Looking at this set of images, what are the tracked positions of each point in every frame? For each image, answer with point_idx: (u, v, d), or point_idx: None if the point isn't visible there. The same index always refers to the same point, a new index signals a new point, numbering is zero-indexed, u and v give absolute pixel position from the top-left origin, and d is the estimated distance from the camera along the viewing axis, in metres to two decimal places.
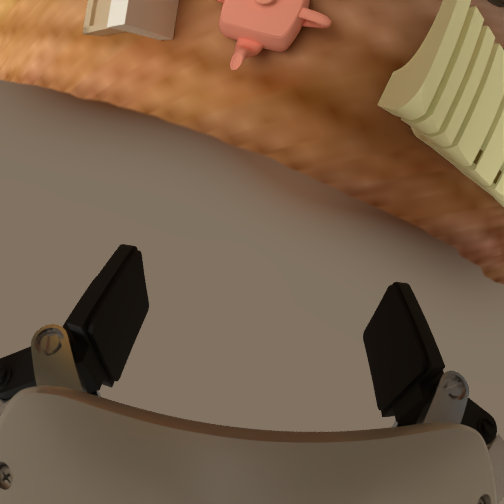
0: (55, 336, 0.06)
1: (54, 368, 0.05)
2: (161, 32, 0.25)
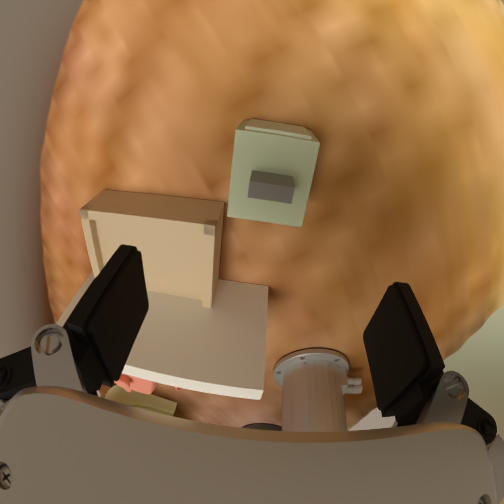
0: (55, 336, 0.06)
1: (54, 368, 0.05)
2: None
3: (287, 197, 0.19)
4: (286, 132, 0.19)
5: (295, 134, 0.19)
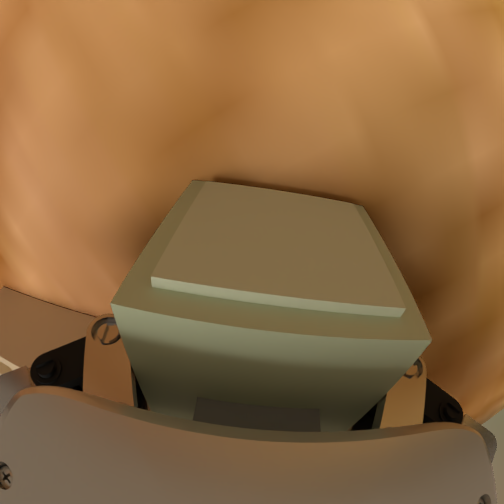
0: (115, 327, 0.07)
1: (107, 359, 0.06)
2: None
3: None
4: (317, 300, 0.05)
5: (352, 307, 0.05)
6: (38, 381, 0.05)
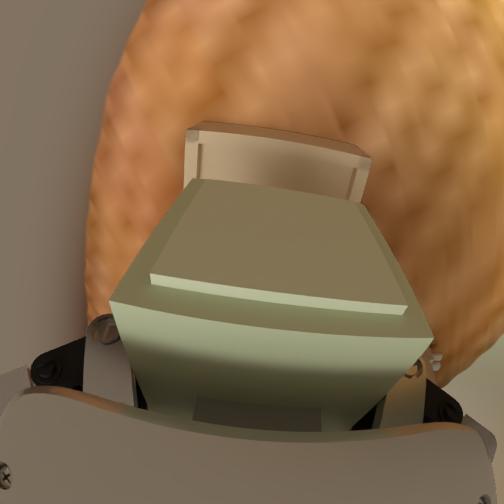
0: (115, 327, 0.07)
1: (107, 359, 0.06)
2: None
3: None
4: (319, 297, 0.05)
5: (353, 304, 0.05)
6: (38, 381, 0.05)
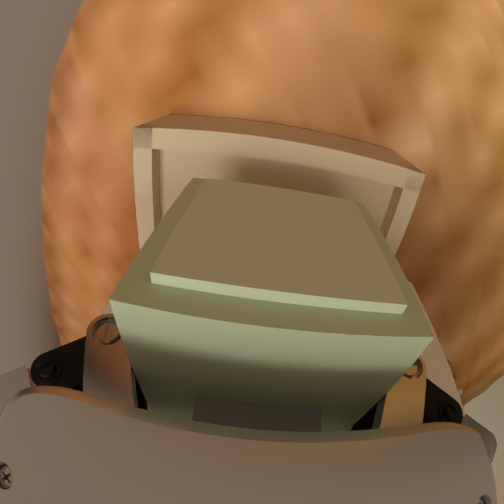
0: (115, 327, 0.07)
1: (107, 359, 0.06)
2: None
3: None
4: (319, 296, 0.05)
5: (353, 303, 0.05)
6: (38, 381, 0.05)
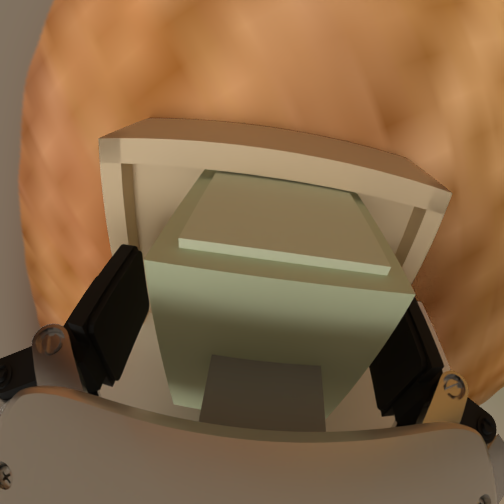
0: (56, 336, 0.06)
1: (55, 368, 0.05)
2: None
3: None
4: (316, 257, 0.06)
5: (344, 263, 0.06)
6: None
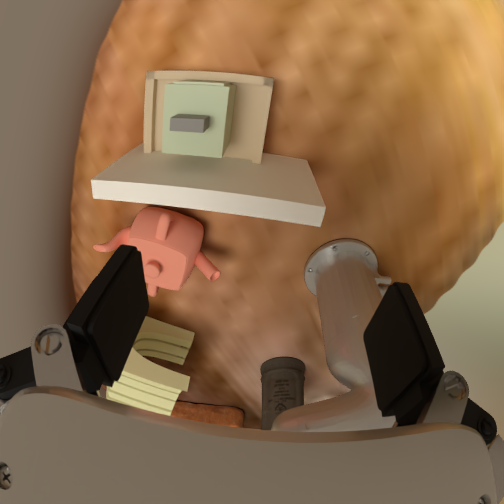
0: (55, 336, 0.06)
1: (54, 368, 0.05)
2: None
3: (199, 127, 0.22)
4: (204, 82, 0.22)
5: (211, 83, 0.22)
6: None
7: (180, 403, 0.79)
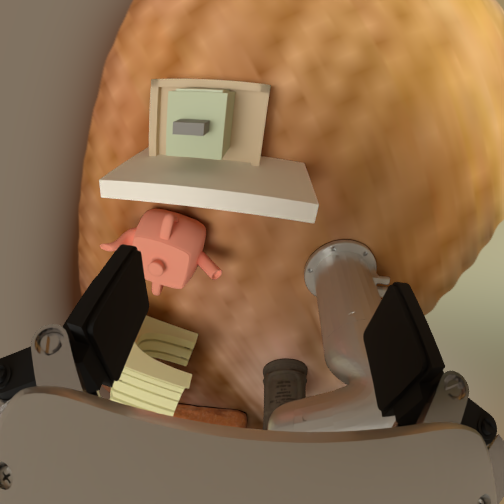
0: (55, 336, 0.06)
1: (54, 368, 0.05)
2: None
3: (199, 131, 0.24)
4: (204, 89, 0.24)
5: (210, 90, 0.24)
6: None
7: (183, 406, 0.80)
